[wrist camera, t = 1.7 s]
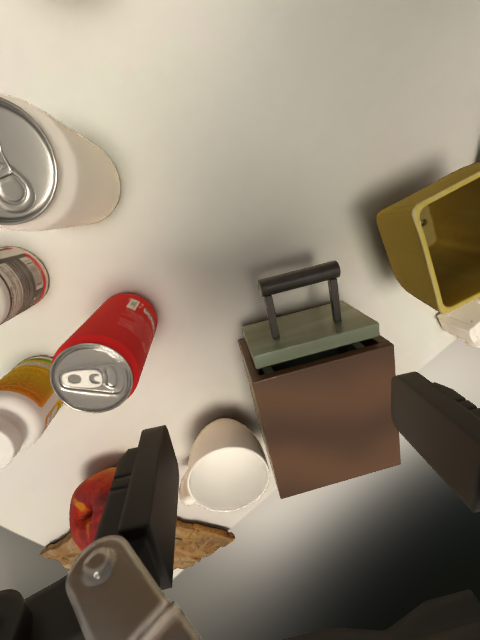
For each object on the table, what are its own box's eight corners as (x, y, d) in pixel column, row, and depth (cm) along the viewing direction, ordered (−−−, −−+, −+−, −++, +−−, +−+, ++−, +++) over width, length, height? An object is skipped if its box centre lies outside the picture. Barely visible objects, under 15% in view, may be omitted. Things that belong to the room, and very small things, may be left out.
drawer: (228, 275, 29) (238, 293, 23) (335, 248, 30) (374, 258, 23) (264, 420, 35) (279, 467, 29) (353, 395, 35) (387, 436, 29)
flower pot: (349, 208, 29) (412, 207, 21) (435, 162, 29) (534, 142, 20) (377, 289, 32) (442, 317, 24) (455, 248, 32) (548, 262, 24)
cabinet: (238, 339, 32) (251, 382, 24) (345, 311, 33) (394, 344, 25) (262, 436, 37) (280, 499, 29) (356, 409, 37) (401, 464, 29)
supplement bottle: (5, 359, 30) (-78, 425, 21) (64, 350, 30) (7, 410, 21) (26, 407, 32) (-43, 486, 23) (81, 397, 32) (35, 471, 23)
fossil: (34, 567, 39) (28, 582, 37) (68, 490, 35) (63, 502, 34) (193, 592, 44) (193, 606, 43) (235, 528, 41) (237, 540, 40)
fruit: (137, 438, 34) (121, 502, 27) (171, 488, 37) (165, 558, 30) (72, 467, 34) (38, 539, 27) (111, 514, 37) (89, 591, 30)
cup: (270, 432, 36) (285, 479, 30) (205, 482, 38) (207, 537, 31) (227, 391, 34) (234, 432, 28) (158, 445, 35) (150, 497, 29)
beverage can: (159, 341, 31) (139, 415, 20) (104, 342, 31) (51, 418, 19) (157, 290, 30) (134, 339, 18) (99, 289, 29) (38, 340, 18)
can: (65, 235, 27) (-27, 254, 16) (20, 156, 25) (-125, 112, 14) (135, 207, 27) (92, 205, 16) (97, 125, 25) (14, 55, 14)
